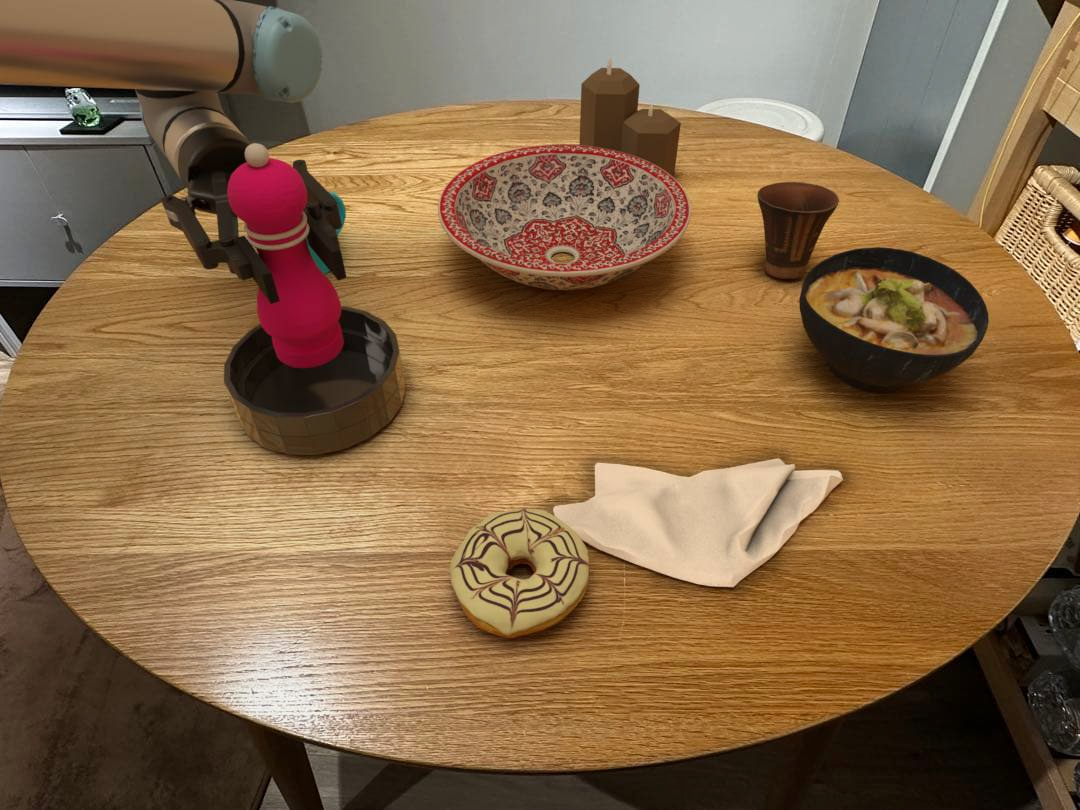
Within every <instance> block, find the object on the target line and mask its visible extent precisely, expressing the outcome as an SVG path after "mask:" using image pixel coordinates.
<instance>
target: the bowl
mask: <svg viewBox="0 0 1080 810" xmlns="http://www.w3.org/2000/svg"><path fill="white" fill-rule="evenodd" d="M798 300H799V301H798V302H799V303H798V304H799V312H800V313H799V314H800V318H801V322H802V327H803V329H804V331H805V332H806V335H807V337H808V339H809V340H810V342H811V344H812V345H813V347H814V348H815V349H816V350H817V352H818V353H819V354H820V356H821V357H822V358H823V359H824V360H825V363H826V364H827V367H828V369H829V371H830V372H831V373H832V374H833V375H834V376H835V377H836V378H837V379H839V380H840V381H842V382H843V383H845V384H847V385H849V386H851V387H852V388H854V389H858V390H861V391H865V392H872V393H891V392H894V391H898V390H900V389H902V388H903V387H905V386H909V385H910V386H911V385H915V384H916V385H918V384H921V383H924V382H927V381H930V380H933V379H936V378H938V377H941V376H943V375H945V374H948V373H949V372H951V371H953V370H954V369H956V368H957V367H959V366H961V364H963V363H964V362H965V361H967V360H968V358H970V357H972V355H973V354H974V353H975V352H976V350H977V348H978V347H979V346H980V345H981V343H982V342H983V340H984V338H985V335H986V334H987V332H988V329H989V328H988V327H989V320H990V319H989V311H988V307H987V305H986V302H985V301H984V298H983V297H982V295H981V294H980V292H979V291H978V290H977V289H976V288H975V286H974V285H973V284H972V282H971V281H969V279H967V278H966V277H964V276H963V275H962V274H961V273H960V272H958V271H957V270H955V269H954V268H952V267H950V266H948V265H946V264H945V263H942V262H940V261H938V260H935V259H933V258H931V257H929V256H926V255H922V254H920V253H917V252H914V251H909V250H905V249H900V248H893V247H882V246H881V247H880V246H875V247H862V248H854V249H849V250H846V251H845V250H844V251H843V252H838V253H836V254H833V255H831V256H829V257H827V258H825V259H823V260H821V261H820V262H818V263H817V264H816V265H814V266H813V267H812V268H811V269H810V270H809V271H808V272H807V274H806V276H805V277H804V279H803V282H802V283H801V289H800V294H799V299H798Z"/></svg>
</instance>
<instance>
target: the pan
mask: <svg viewBox="0 0 1080 810" xmlns="http://www.w3.org/2000/svg"><path fill="white" fill-rule="evenodd" d="M338 322H339V324H340V327H341V331H342V335H343V340H344V344H343V347H342V350H341V351H340V352H339V354H338V355H337V356H336V357H335V358H334V359H332V360H331V361H329V362H327V363H325V364H323V365H320V366H316V367H311V368H294V367H291V366H288V365H286V364H284V363H283V362H281V361H280V360H279V359H278V357H277V355H276V352H275V349H274V346H273V343H272V336H270V335H269V334H268V333H267V332H266V331H265V330H264V329H263V328H262V326H261V324H260V323H259V324H258V325H257V326H255V327H253V328H251V329H250V330H249V331H247V332H246V333H245V335H243V336H242V337H241V338H240V339H239V340H238V341H237V342H236V343H235V344H234V345H233V346H232V348H231V350H230V351H229V354H228V356H227V358H226V360H225V362H224V364H223V383H224V386H225V389H226V391H227V393H228V396H229V399H230V401H231V405H232V407H233V409H234V411H235V414H236V417H237V420H238V421H239V423H240V425H241V427H242V429H243V431H244V432H245V434H246V435H247V436H248V437H250V438H251V439H252V440H253V441H255V442H256V443H258V444H259V445H260V446H262V447H263V448H266V449H269V450H272V451H276V452H279V453H283V454H285V455H296V456H297V455H299V456H300V455H302V456H317V455H322V454H327V453H332V452H337V451H343V450H345V449H348V448H350V447H352V446H355V445H356V444H359V443H361V442H364V441H366V440H368V439H370V438H371V437H372V436H374V435H375V434H377V432H379V431H380V430H382V429H383V428H384V427H386V426H387V425H388V424H389V423H390V422H391V421H392V419H393V418H394V417H395V415H396V414H397V412H398V411H399V410H400V408H401V407H402V405H403V400H404V396H405V392H406V388H407V386H406V380H405V374H404V368H403V363H402V362H403V361H402V355H401V351H400V346H399V342H398V338H397V334H396V332H394V330H393V329H392V327H390V325H388V324H387V322H386V321H385V320H383V319H382V318H380V317H378V316H376V315H374V314H373V313H371V312H369V311H367V310H363V309H360V308H359V309H358V308H354V307H350V306H346V305H341V315H340V318H339V320H338Z"/></svg>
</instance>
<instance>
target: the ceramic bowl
mask: <svg viewBox="0 0 1080 810" xmlns="http://www.w3.org/2000/svg"><path fill="white" fill-rule="evenodd" d="M437 215H438V220H439V223H440V225H441V227H442V230H443V231H444V232H445V234H446V236H447V237H448V238H449V239H450V240H451V241H452V242H453V243H454V244H455V245H456V246H457V247H458V248H460V249H461V250H462V251H464V252H465V253H467V254H469V255H471V256H472V257H474V258H476V259H478V260H479V261H481V262H482V264H484V265H485V266H487V267H488V268H490V269H491V270H492V271H494V272H496V273H498V274H499V275H501V276H502V277H505V278H507V279H509V280H511V281H513V282H517V283H519V284H523V285H526V286H528V287H532V288H533V287H534V288H538V289H544V290H552V291H577V290H578V291H579V290H583V289H584V290H586V289H591V288H596V287H600V286H604V285H607V284H610V283H612V282H615V281H618V280H620V279H623V278H624V277H626V276H628V275H630V274H632V273H633V272H635V271H637V270H638V269H640V268H641V267H643V266H644V265H645V264H646V263H647V262H650V261H652V260H653V259H656V258H657V257H660V256H661V255H662V254H664V253H665V252H667V251H668V250H670V249H671V248H672V247H674V246H675V245H676V244H677V243H678V241H680V239H681V238H682V237H683V235H685V233H686V230H687V229H688V227H689V224H690V221H691V215H692V209H691V202H690V199H689V196H688V194H687V192H686V190H685V189H684V187H683V186H682V185H681V183H680V182H679V181H678V180H677V179H676V178H675V177H672V176H671V175H670V174H668V173H667V172H666V171H664V170H663V169H661V168H659V167H658V166H656V165H654V164H652V163H650V162H648V161H646V160H643V159H641V158H638V157H636V156H633V155H630V154H626V153H623V152H619V151H615V150H611V149H605V148H600V147H592V146H582V145H579V144H543V145H534V146H526V147H521V148H520V147H519V148H515V149H511V150H507V151H502V152H499V153H496V154H493V155H490V156H488V157H485V158H482V159H480V160H478V161H476V162H473V163H472V164H470V165H468V166H466V167H465V168H463V169H462V170H461V171H459V172H458V173H457V174H455V175H454V176H453V177H452V178H451V179H450V180H449V181H448V183H446V185H445V186H444V188H443V189H442V192H441V193H440V196H439V199H438V203H437ZM557 253H567V254H570V255H572V256H573V257H574V259H573V260H572V261H569V262H564V263H561V262H556V261H554V260H553V259H552V257H553V255H555V254H557Z"/></svg>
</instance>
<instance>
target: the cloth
mask: <svg viewBox="0 0 1080 810" xmlns="http://www.w3.org/2000/svg"><path fill="white" fill-rule="evenodd" d="M842 481H844V478H843V474H842V473H841V472H840V471H839V470H835V469H806V470H805V469H801V470H796V463H791V464H786V463H785V462H784V461H783V460H781V459H780V457H776V458H773V459H768V460H762V461H757V462H752V463H746V464H741V465H738V466H737V465H735V466H731V467H725V468H724V467H723V468H717V469H707V470H702V471H701V472H698V473H695V474H693V475H692V476H682V475H677V474H673V473H669V472H665V471H661V470H656V469H651V468H648V467H644V466H643V467H642V466H634V465H627V464H619V463H609V462H607V463H606V462H596V463H595V464H594V496H592V497H591V498H589V499H587V500H586V501H582V502H576V503H566V504H560V505H559V504H558V505H555V506H554V507H553V509H552V512H553V515H554V516H556V517H557V518H558V519H560V520H561V521H562V522H563V523H565V524H566V525H567V526H569V527H570V528H571V529H572V530H574V531H575V532H576V533H577V534H578V535H579V537H580V538H581V540H582V541H583V543H584V544H588V546H591V547H593V548H595V549H597V550H599V551H601V552H604V553H606V554H609V555H612V556H614V557H617V558H619V559H622V560H624V561H627V562H629V563H632V564H634V565H637V566H640V567H642V568H646V569H648V570H652V571H654V572H656V573H659V574H663V575H665V576H669V577H670V578H671V577H672V578H674V579H676V580H677V579H678V580H681V581H686V582H689V583H693V584H697V585H702V586H707V587H719V588H720V587H723V588H735V586H736V585H738V583H739V582H740V581H742V580H744V578H746V577H747V576H749V575H750V574H751V573H753V572H754V571H755V570H756V569H758V568H759V567H760V566H763V564H765V563H766V562H767V561H769V560H770V559H771V558H772V557H773V556H775V554H776V553H777V552H778V551H779V550H780V549H781V548H782V547H783V546H784V544H785V543H786V542H787V541H788V540H789V539H790V538H791V537H792V536H793V535H794V534H795V532H796V531H797V529H798V527H799V525H800V522H802V521H803V520H804V519H806V518H807V517H809V515H811V514H812V513H813V512H814V511H816V510H817V508H818V507H820V505H821V504H822V502H823V501H825V499H826V498H827V497H828V495H829V494H830V493H831V492H832V491H833V490H834V489H835V488H836V487H837V486H838V485H840V483H841V482H842Z"/></svg>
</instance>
